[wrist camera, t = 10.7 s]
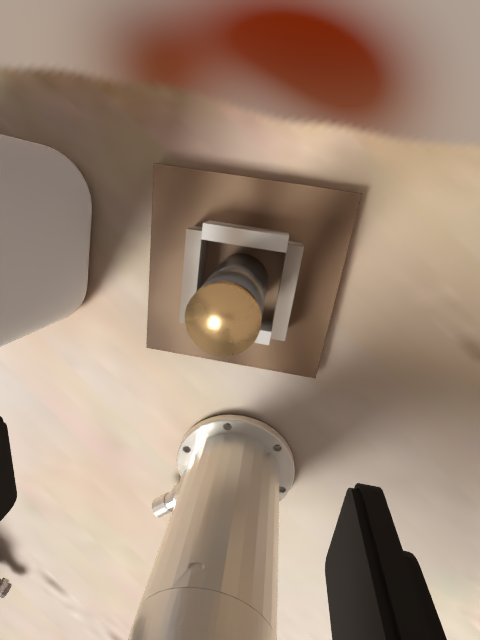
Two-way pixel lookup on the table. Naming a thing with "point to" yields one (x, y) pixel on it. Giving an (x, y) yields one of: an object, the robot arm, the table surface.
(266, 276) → the gold topped cylinder
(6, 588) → the grey lumpy piece
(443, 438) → the table surface
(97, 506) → the table surface
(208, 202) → the docking plate
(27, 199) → the plastic bottle
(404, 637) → the robot arm
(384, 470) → the table surface
